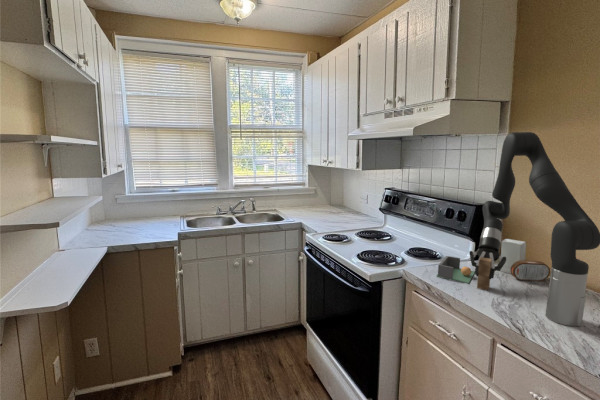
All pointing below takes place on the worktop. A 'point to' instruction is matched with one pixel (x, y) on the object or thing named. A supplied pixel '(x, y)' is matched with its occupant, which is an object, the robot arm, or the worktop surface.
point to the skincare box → (512, 253)
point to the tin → (530, 270)
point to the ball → (466, 271)
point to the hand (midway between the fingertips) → (483, 276)
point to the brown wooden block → (484, 273)
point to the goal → (452, 270)
